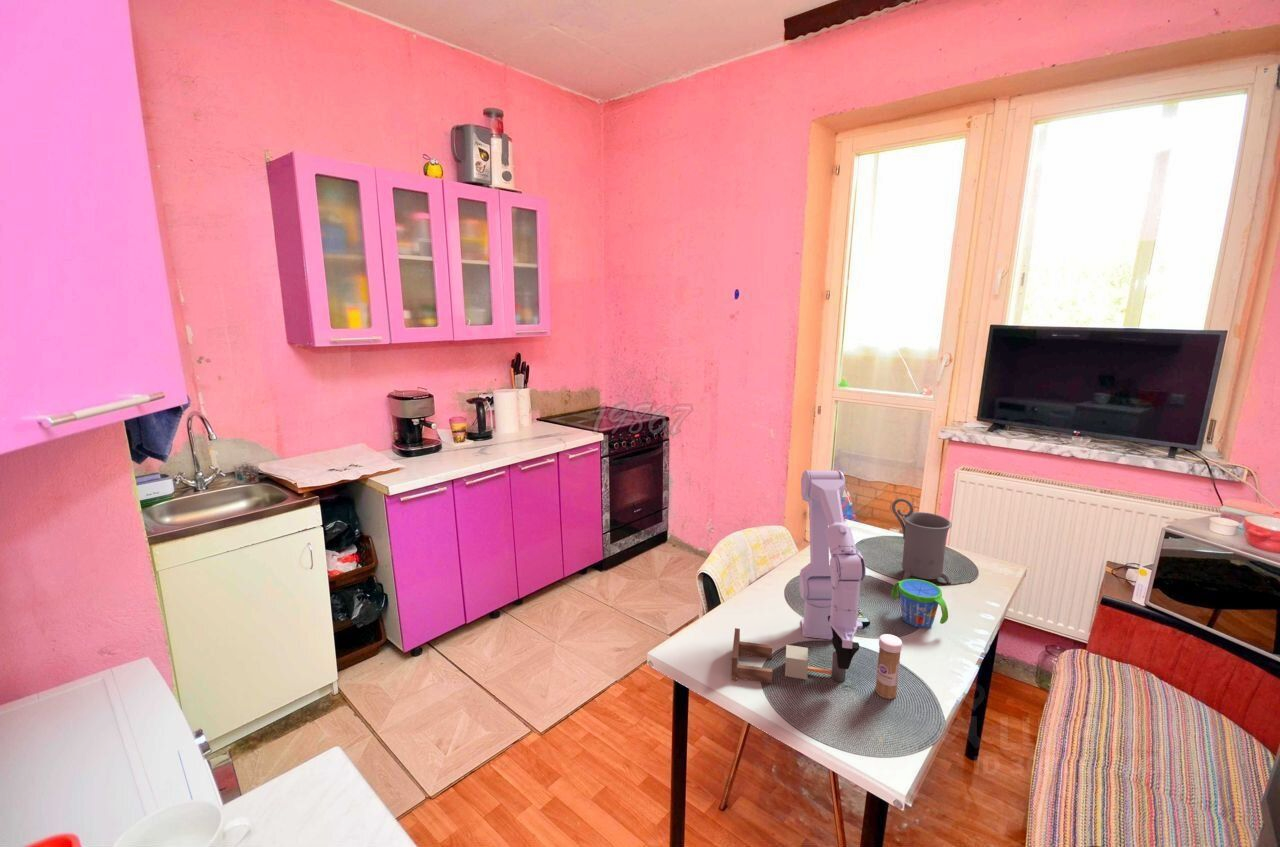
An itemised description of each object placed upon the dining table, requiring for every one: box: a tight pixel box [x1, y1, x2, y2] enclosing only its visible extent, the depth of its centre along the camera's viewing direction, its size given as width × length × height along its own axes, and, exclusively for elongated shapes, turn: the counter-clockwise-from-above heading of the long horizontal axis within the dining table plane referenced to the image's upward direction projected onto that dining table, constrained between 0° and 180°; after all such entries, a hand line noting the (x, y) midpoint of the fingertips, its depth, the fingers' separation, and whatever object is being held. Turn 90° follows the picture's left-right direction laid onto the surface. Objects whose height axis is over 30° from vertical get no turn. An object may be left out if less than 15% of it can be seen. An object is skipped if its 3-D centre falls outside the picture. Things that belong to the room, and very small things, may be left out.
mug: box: [891, 498, 953, 585], centre depth 170 cm, size 19×15×25 cm
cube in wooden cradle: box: [730, 627, 773, 684], centre depth 130 cm, size 9×12×6 cm
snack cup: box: [891, 578, 949, 628], centre depth 147 cm, size 16×10×10 cm
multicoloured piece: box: [784, 644, 847, 683], centre depth 127 cm, size 14×5×6 cm, turn 74°
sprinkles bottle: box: [874, 633, 903, 700], centre depth 119 cm, size 5×5×13 cm
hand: (841, 657), depth 125 cm, fingers open, 7 cm apart
